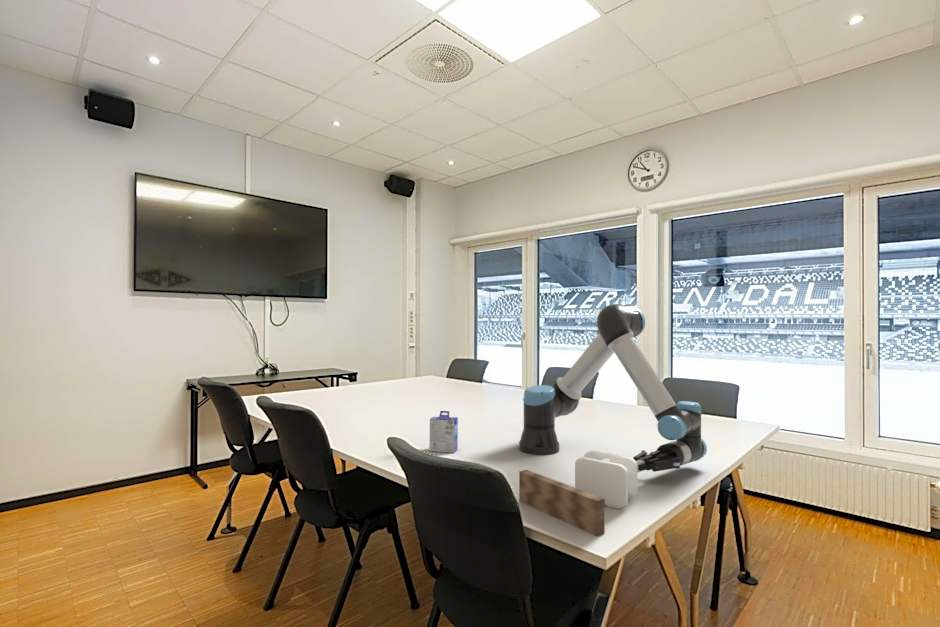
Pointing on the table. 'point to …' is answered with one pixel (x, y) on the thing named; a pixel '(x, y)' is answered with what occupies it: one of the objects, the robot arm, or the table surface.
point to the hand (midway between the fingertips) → (629, 469)
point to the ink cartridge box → (444, 433)
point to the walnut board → (563, 502)
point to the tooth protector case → (607, 477)
